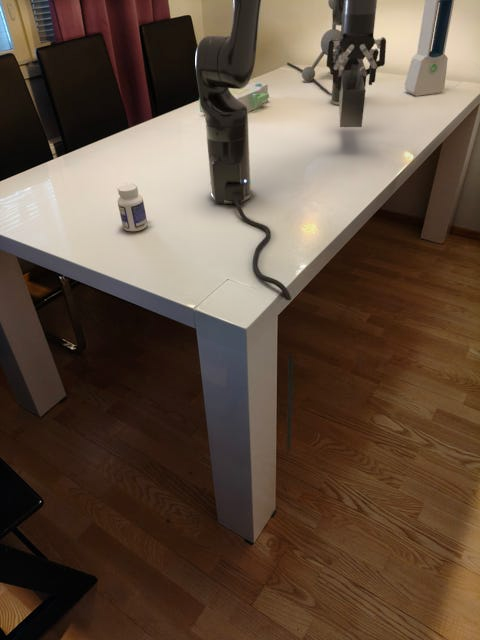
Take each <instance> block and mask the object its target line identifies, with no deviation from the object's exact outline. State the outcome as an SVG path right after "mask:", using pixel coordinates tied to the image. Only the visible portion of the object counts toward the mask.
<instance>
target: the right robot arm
mask: <svg viewBox="0 0 480 640" xmlns="http://www.w3.org/2000/svg"><path fill="white" fill-rule="evenodd" d="M343 8H344V0H333V10H332V12H331V13H332V14H331V15H332V21H333V23H334V24H335V25H336V26H340V31H341V37H342V28H343V13H344V10H343ZM341 37H340V38H338V39H336V40H341ZM342 52H343V51H342V49H341V47H340V45H338V46H337V48H336V49H335V50H333V55H332V62H336V61H337V59H338V58H339V56H340V55H341V53H342ZM369 52H370V53H371V55H372V57H373V59H374V60H375V62H376V61H378V57H379V53H380V50H379V49H378V48H371V50H370V51H369ZM365 58H366V57H364V58H362V59H357V58H355V59H348V58H346V59H345V60H344V62H343V63H342V64H341V65H340V67H339V77H338V86H335V83H333V82H332V85H331V93H330V92H329V90H328V89H327V88H326V87H324V86H323V85H322V84H320V83H319V81H317V80H316V79H315V78H314V79H313V80H312V81H313V82H314V83H315V85H316V86H318V87H319V88H320V89H321V90H323V91H324V92H325V93H326V94H328V95H329V96H331V98H330V103H331V104H333V105H335V106H339V96H340V89H341V74H342V72H343V70H361V72H362V76H363V81H364V86H365V87H366V83H367V77H368V75H370V68H371V65H370V64H369V67H368V68H366V66H365V63H364V59H365ZM286 64H287V65H288V66H290V67H292V68H294V69H296V70H297V71H300V72H301V73H302V71H303V70H304V69H302V68H300V67H299V66H296V65H295V64H293V63H290V62H287V63H286ZM329 72H330V75H332V76H333V69H332V68H330V69H329Z"/></svg>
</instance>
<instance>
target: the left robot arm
mask: <svg viewBox="0 0 480 640" xmlns="http://www.w3.org/2000/svg"><path fill="white" fill-rule="evenodd" d="M231 2H232V21H231V22H232V23H231V31H230V35H218V34H217V35H216V34H212V35H211V34H209V35H205V36H204V37H202V38H201V39H200V41H199V42H198V45H197V47H196V51H195V61H194V62H195V75H196V82H197V89H198V96H199V97H198V98H200V104H201V108H202V111H203V114H204V122H205V132H206V144H207V155H208V166H209V167H208V168H209V179H210V189H211V193H210V195H211V200H212V201H214V203H215V204H216V205H235V207H236V210H237V212H238V214H239V216H240V217H241V219H242V220H243V221H244V222H245V223H247V224H248V225H251V226H253V227H255V228H258V229H261V230H264V232H265V233H266V235H265V237H264V238H263V239H261V241H260V242H259V244H258V245H257V246H256V248H255V250H254V253H253V258H252V268H253V272H254V274H255V275H256V277H257V278H259V280H262V281H264V282H266V283H269V284H271V285H274V286H276V287H277V288H279V290H281V292H282V293H283V296H284V298H285V300H286V301H291V300H292V296H291V294H290V292H289V290H288V289H287V287H286V286H285V285H284V284H283V283H282V282H281V281H279V280H278V279H275V278H273V277H269V276H267V275H265V274H263V273H262V272H261V270H260V268H259V265H258V263H259V256H260V252H261V250H262V248H263V246H265V245H266V244H267V243H268V242H269V240H270V238H271V236H272V232H271V230H270V228H269V227H268V226H267V225H265V224H262V223H259V222H256V221H254V220H251V219H250V218H249V217H247V216H246V215H245V213H244V210H243V209H242V206H241V205H242V204H243V202H246V201H248V200H250V198H251V196H252V190H251V165H250V162H251V161H250V138H249V135H250V134H249V112H248V110H247V107H246V105H245V104H243V103H242V102H240V101H239V100H237V99H236V98H235V97H234V96H233V95H232V94H231V92H230V91H229V88H233V89H242V88H244V87H245V86H247V84H248V83H250V82H251V79H252V77H253V73H254V69H255V65H256V64H255V63H256V57H257V46H258V35H259V22H260V13H261V4H262V0H232V1H231ZM377 5H378V0H344V8H343V10H344V13H343V28H342V37H341V40H333V39H330V40H329V45H328V54H327V55H326V68H329V67H330V68H332V69H333V75H332V84H333V83H335V86H338V77H339V67H340V65H341V64H342V63H343V62H344V60H345V59H346V58H348V59H355V58H357V59H362V58H364V57H365V58H366V60H367V62H368V63H369V66H370V65H371V68H370V74H368V75H369V76H368V85H369V86H372V85H373V83H375V82H376V76H377V69H378V68H380V67H384V66H385V64H386V49H387V39H386V38H385V37H384V36H382V37H381V38H375V37H374V33H375V32H374V31H375V24H376V12H377ZM338 45H340V47H341V49H342V51H343V52H342V53H341V55H340V56H339V58H338V59H337V61H336V62H332V55H333V50H335V49H336V48H337V46H338ZM374 45H376V47H377V49H378V50H379V53H378V57H379V58H378V59H377V61H376V62H375V60H374V59H373V57H372V55H371V53H370V52H369V51H370V50H371V49H373V47H374ZM365 58H364V59H365ZM293 369H294V355H293V354H292V355H291V354H287V404H286V405H287V407H286V409H287V410H286V451H288V452H289V451H291V449H292V415H293V414H292V412H293V386H294V385H293V384H294V383H293V382H294V381H293V379H294V370H293Z"/></svg>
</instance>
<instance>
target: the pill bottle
mask: <svg viewBox="0 0 480 640" xmlns="http://www.w3.org/2000/svg"><path fill="white" fill-rule="evenodd" d="M117 193H118V196H119V197H118V199H117V206H118V210H119V211H118V212H119V215H120V219H121V224H122V227H123V229H124V230H125V231H128V232H138V231H141V230H144V229H146V227H147V226H148V217H147V214H146V208H145V203H144V198H143V196H142V195H141V194H139V188H138V185H137V184H135V183H132V182H131V183H123V184H121V185H119V186H118V187H117Z"/></svg>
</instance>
